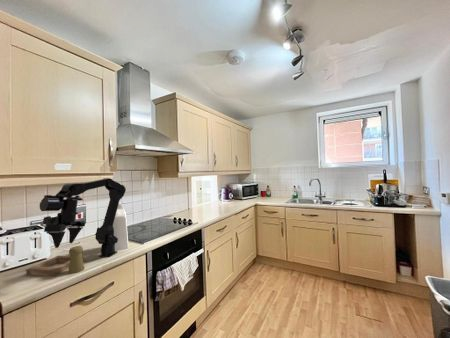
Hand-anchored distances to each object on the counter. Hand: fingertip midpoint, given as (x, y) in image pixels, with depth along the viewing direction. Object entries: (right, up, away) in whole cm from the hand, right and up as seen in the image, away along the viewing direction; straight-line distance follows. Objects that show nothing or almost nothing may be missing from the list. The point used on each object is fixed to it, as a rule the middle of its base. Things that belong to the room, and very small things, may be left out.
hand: (64, 245), depth 90 cm
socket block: (-9, -13, +6) cm, 17 cm away
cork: (+4, -13, +3) cm, 14 cm away
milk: (+7, -13, +31) cm, 35 cm away
